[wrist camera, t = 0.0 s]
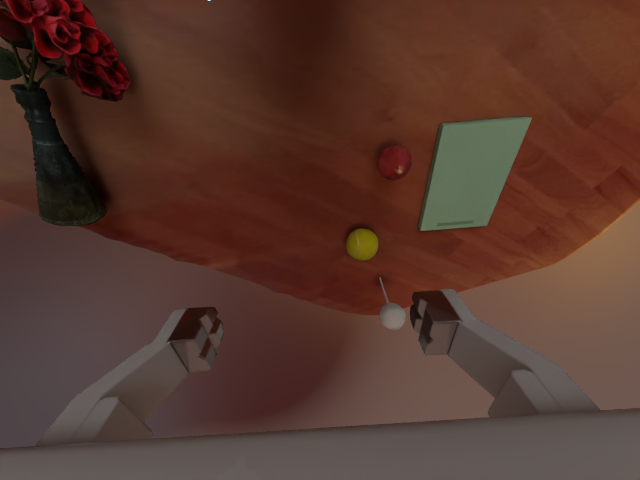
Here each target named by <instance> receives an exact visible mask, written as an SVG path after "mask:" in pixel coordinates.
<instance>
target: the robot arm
mask: <svg viewBox="0 0 640 480" xmlns="http://www.w3.org/2000/svg"><path fill="white" fill-rule="evenodd" d="M209 1H210V0H209ZM412 300H413V302H414V304H413V305H412V306H411V307H410V320H411V323H412V326H413V329H414V330H415V331H416V332H417V333H419V334H420V336H419V342H420V344H421V347H422V349H423V351H424V353H425V355H448V356H449V357H450V358H451V359H452V360H453V361H454V362H455V363H457V364H458V365H459V366H460V367H461V368H462V369H463V370H465V372H467V373H468V374H469V375H470V376H471V377H472V378H473V379H474V380H475V381H477V382H478V383H479V384H480V385H481V386H482V387H483V388H484V389H485V390H487V391H488V392H489V393H490V394H491V395H492V396H493V397H494V398H495V400H494V401H493V403H492V405H491V407H490V408H489V410H488V415H489V416H490V417H489V418H474V419H457V420H441V421H425V422H410V423H395V424H394V423H393V424H377V425H361V426H346V427H330V428H313V429H298V430H283V431H265V432H250V433H235V434H219V435H203V436H187V437H172V438H157V439H151V438H152V435H153V433H152V430H151V429H150V428H149V427H148V426H147V425H146V424H145V423H144V422H145V421H146V419H147V418H148V417H149V416H150V415H151V414H152V413H153V412H154V411H155V410H156V409H157V407H158V406H159V405H160V404H161V403H162V402H163V401H164V400H165V399H166V398H167V397H168V396H169V394H170V393H171V392H172V391H173V390H174V389H175V388H176V387H177V386H178V385H179V384H180V382H181V381H182V380H183V379H184V378H185V377H186V376H187V375H188V374H189V373H188V372H195V371H206V370H211V367H212V365H213V362H214V359H215V357H216V351H215V348H216V347H218V345H220V343H221V341H222V338H223V324H222V322H221V320H219V319H218V318H216V316H217V314H218V312H217V310H216V308H215V307H202V308H185V309H176V310H175V311H173V312H172V314H171V316H170V317H169V318H168V320H167V321H166V323H165V324H164V326H163V327H162V329H161V330H160V332H159V334H158V335H157V336H156V338H155V339H154V341H153V342H152V344H147V345H146V346H145V347H143V348H142V349H140V350H139V351H138V352H136V353H135V354H133V355H132V356H131V357H129V358H128V359H127V360H125V361H124V362H122V363H121V364H120V365H119V366H117V367H116V368H114V369H113V370H111V371H110V372H109V373H107V374H106V375H105V376H103V377H102V378H100V379H99V380H98V381H96V382H95V383H93V384H92V385H91V386H89V387H88V388H87V389H85V390H84V391H82V392H81V393H80V394H78V395H77V396H75V397H74V398H73V399H72V401H71V402H70V403H69V404H68V405H67V407H66V408H65V409H64V410H63V412H62V413H61V414H60V415H59V417H58V418H57V419H56V420H55V422H54V423H53V424H52V425H51V427H50V428H49V429H48V430H47V432H46V433H45V434H44V435H43V436H42V438H41V439H40V440H39V441H38V443H37V444H36V445H35V446H30V447H14V448H0V480H640V408H631V409H614V410H600V409H599V408H598V407H597V406H596V405H595V403H594V402H593V401H592V400H591V399H590V398H589V397H588V396H587V395H586V394H585V393H584V392H583V390H582V389H581V388H580V387H579V386H578V385H577V384H576V383H575V382H574V381H573V380H572V378H571V377H570V376H569V375H568V374H567V373H566V372H565V371H564V370H563V369H562V368H561V367H560V366H559V365H557V364H556V363H554V362H552V361H550V360H549V359H547V358H545V357H544V356H542V355H540V354H538V353H537V352H535V351H533V350H532V349H530V348H528V347H526V346H525V345H523V344H521V343H519V342H518V341H516V340H514V339H513V338H511V337H509V336H507V335H506V334H504V333H502V332H500V331H499V330H497V329H495V328H493V327H492V326H490V325H488V324H487V323H485V322H483V321H478V320H477V319H476V318H475V316H474V315H473V314H472V313H471V311H470V310H469V308H468V307H467V306H466V304H465V303H464V302H463V301H462V299H461V298H460V296H459V295H458V294H457V292H456V291H455V290H453V289H445V290H433V291H421V292H414V293H413V296H412Z"/></svg>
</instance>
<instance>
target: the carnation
mask: <svg viewBox="0 0 640 480" xmlns="http://www.w3.org/2000/svg"><path fill="white" fill-rule="evenodd" d="M92 16H93V14H92V13H91V12H90V11H89V9H88V8H87V7H86V6H85V5H84V4H83V3H82V2H81V0H0V36H1V37H2V38H3V39H4V40H5V41H6V42H8V43H10V44H11V45H12V49H13V51H14V53H13V52H11V51H9V50H8V49H4V48H2V47H0V79H2V80H11V79H16V78H19V77H21V76H22V75H23V78H24V81H25V83H26V85H24V84H15V85H11V87H10V89H11V90H12V91H13V92H14V93H15V96H16V97H15V98H16V102H17V103H19V104H20V105H21V106H22V108H23V109H24V110H25V115H24V118H25V119H26V120H27V122H29V128H30V131H31V135H32V136H33V137H32V144H33V152H34V157H35V158H33V159H34V160H35V163H34V165H35V166H36V169H35V171H36V172H37V174H36V182H37V184H36V185H37V192H38V194H37V195H38V205H39V211H40V212H39V215H40V217H41V218H42V219H43V220H44V221H46V222H48V223H51V224H55V225H60V226H82V225H89V224H91V223H94V222H96V221H98V220H99V219H101V218H102V217H104V216H105V215H106V213H107V210H108V209H107V207H106V205H105V204H104V202H103V200H102V198H101V197H100V195H99V194H98V193H97V191H96V190H95V189H94V187H93V186H92V184H91V182H90V181H89V179H88V178H87V177H86V176H85V173H84V172H83V171H82V168H81V167H80V166H79V164H78V162H77V161H76V160H75V158H74V157H73V156H72V154H71V152H69V148H68V147H67V145H66V144H64V141H63V140H62V138H61V136H60V134H59V131H58V128H57V125H56V120H55V119H53V118H52V115H51V112H50V106H51V102H50V100H49V98H48V96H47V92H46V91H45V90H44V89H42V88H39V87H40V84H41V82H42V81H43V80H44V79H47V78H50V77H56V76H61V77H67V78H65V80H69V79H72V80H73V81H74V82H75V84H76V85H77V86H78V88H79V90H80V93H81V94H84V95H87V96H91V97H95V98H98V99H101V100H109V101H115V102H116V101H118V100H122V99H123V96H124V93H125V91H126V89H127V88H128V87H129V85H130V84H131V83H130V78H129V74H128V72H127V70H126V68H125V67H124V65H123V64H122V63H120V62H119V61H118V58H117V57H119V55H118V52H117V50H116V49H115V47H114V45H113V44H112V42H111V41H110V40H109V38H108V37H107V36H106V35H105V34H104V33H103V32H102V31H101V30H100V29H98V28H97V27H96V23H95V21H94V19H93V17H92ZM16 47H19V48H24V49H29V50H32V53H30V54H29V56H27V57H26V60H27V62H28V63H29V65H30V69H29V68H28V67H27V66H26V65H25V64H24V62H23V61H22V60H21V59H20V58H19V55H18V52H17V49H16ZM38 56H39V58H40V60H41V61H42V62H43V63H44V64H46V65H47V66H48V67H49V68H50V70H49V71H48V72H47V73H46V74H45V75H43V76H42V77H41V78H40V79H39V80H38V82H34V81H33V79H34V74H35V70H36V68H37V62H38ZM29 57H32V63H30V62H29ZM25 74H28V75H29V76H30V78H28V77H27V76H26V75H25Z"/></svg>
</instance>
